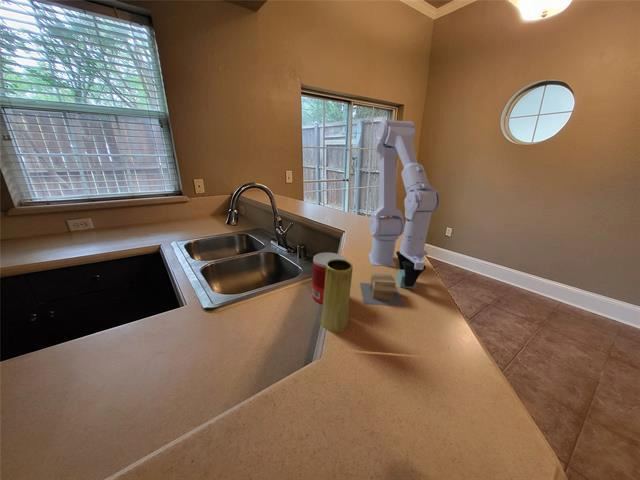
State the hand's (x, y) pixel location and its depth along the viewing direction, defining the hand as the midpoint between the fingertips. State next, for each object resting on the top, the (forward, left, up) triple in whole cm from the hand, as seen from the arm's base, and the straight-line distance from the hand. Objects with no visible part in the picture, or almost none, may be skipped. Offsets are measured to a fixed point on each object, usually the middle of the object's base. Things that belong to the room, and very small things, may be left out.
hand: (406, 280), depth 70 cm
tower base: (+6, -8, -1) cm, 10 cm away
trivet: (+6, -8, -1) cm, 10 cm away
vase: (+19, -20, -2) cm, 28 cm away
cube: (0, 0, -2) cm, 2 cm away
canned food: (+9, -22, -2) cm, 24 cm away
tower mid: (+6, -8, +2) cm, 10 cm away
